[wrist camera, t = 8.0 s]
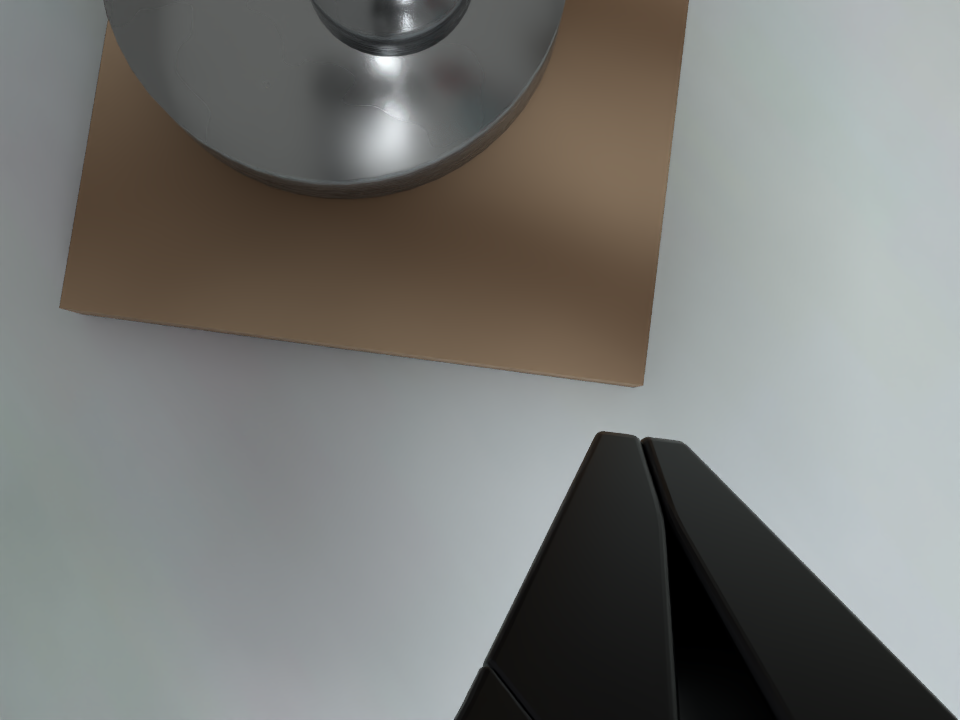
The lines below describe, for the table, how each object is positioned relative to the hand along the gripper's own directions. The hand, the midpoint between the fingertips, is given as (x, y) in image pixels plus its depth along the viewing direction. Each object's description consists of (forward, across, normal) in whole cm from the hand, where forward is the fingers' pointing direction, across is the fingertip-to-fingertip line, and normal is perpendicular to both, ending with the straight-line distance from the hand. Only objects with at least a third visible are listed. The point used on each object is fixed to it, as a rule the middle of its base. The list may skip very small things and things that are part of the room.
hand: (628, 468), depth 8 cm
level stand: (+14, -4, 0) cm, 15 cm away
